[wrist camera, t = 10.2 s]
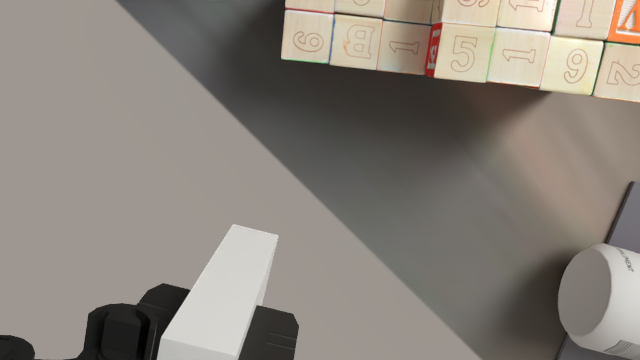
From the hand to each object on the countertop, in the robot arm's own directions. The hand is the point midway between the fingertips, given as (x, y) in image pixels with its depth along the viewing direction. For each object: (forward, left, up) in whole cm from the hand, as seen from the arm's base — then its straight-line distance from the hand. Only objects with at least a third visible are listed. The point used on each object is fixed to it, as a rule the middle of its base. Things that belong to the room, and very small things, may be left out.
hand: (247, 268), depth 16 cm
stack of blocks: (-10, +8, -27) cm, 30 cm away
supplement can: (+6, +24, -22) cm, 33 cm away
